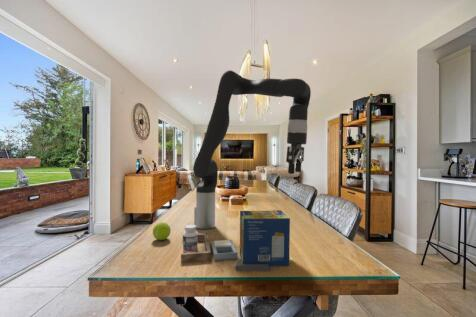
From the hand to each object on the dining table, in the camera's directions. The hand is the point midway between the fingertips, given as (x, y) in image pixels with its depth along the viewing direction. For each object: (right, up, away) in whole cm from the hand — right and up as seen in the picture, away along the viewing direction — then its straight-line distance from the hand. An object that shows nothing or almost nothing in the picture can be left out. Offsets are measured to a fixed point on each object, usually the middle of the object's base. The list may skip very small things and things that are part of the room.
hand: (294, 172), depth 93 cm
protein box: (-14, -29, -15) cm, 35 cm away
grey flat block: (-18, -28, -20) cm, 39 cm away
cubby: (-38, -28, -7) cm, 48 cm away
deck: (-28, -28, -9) cm, 41 cm away
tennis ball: (-54, -28, +3) cm, 61 cm away
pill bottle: (-40, -28, -8) cm, 50 cm away
